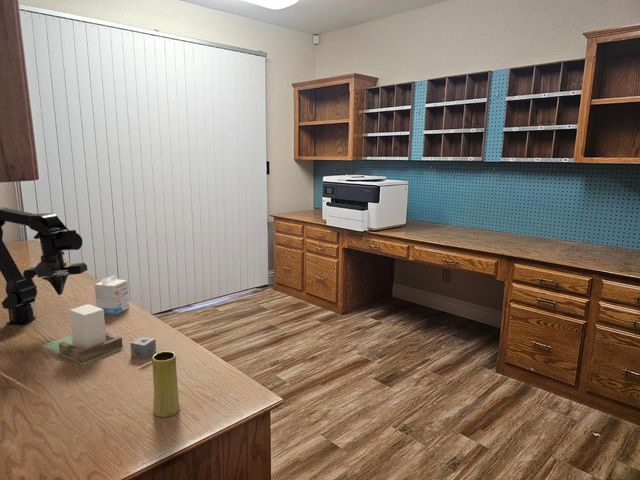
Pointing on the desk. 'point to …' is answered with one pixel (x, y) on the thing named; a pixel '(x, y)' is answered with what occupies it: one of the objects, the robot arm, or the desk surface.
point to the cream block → (87, 326)
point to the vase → (165, 384)
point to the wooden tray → (93, 352)
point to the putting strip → (55, 344)
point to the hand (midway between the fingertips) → (60, 294)
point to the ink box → (112, 295)
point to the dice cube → (143, 347)
